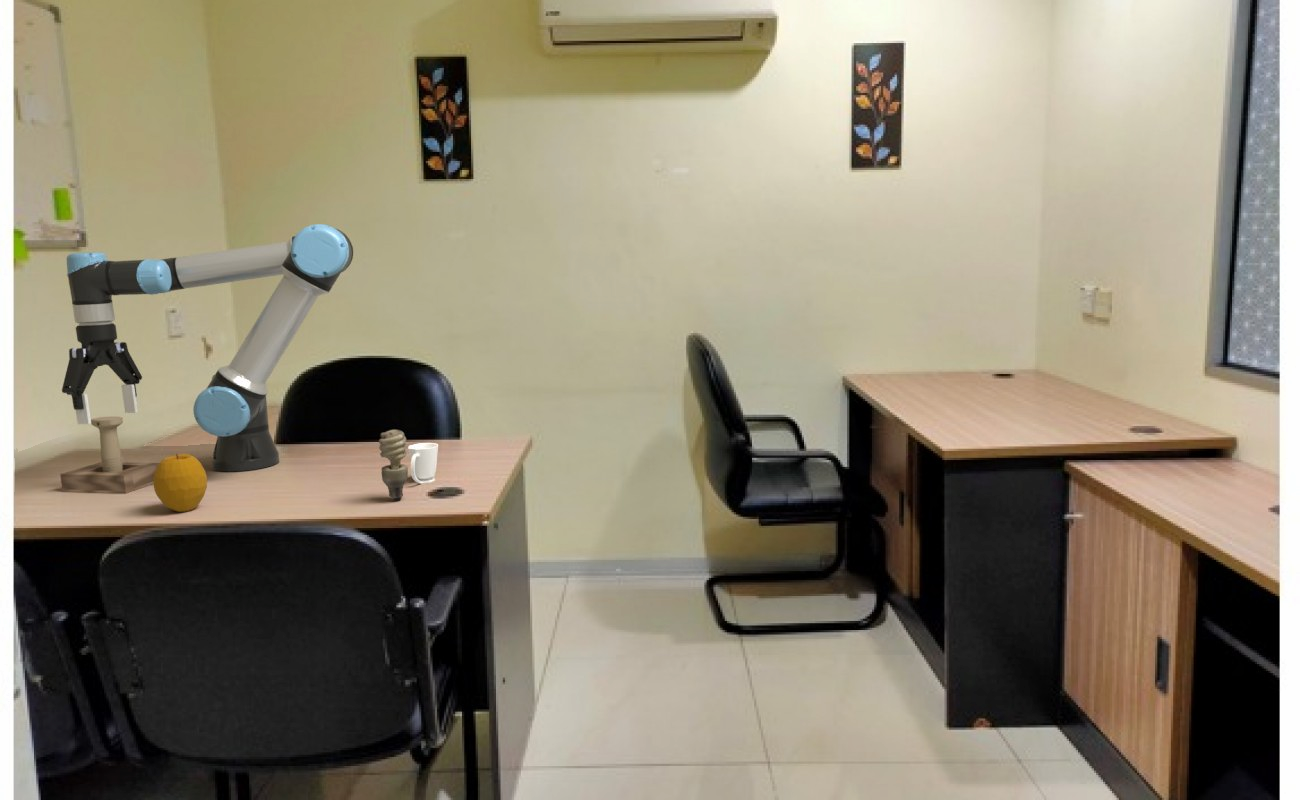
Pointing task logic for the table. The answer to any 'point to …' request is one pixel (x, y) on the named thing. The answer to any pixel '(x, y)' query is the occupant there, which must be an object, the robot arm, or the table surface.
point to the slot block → (109, 478)
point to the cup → (423, 461)
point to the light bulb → (394, 462)
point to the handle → (109, 443)
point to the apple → (180, 482)
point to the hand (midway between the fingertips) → (108, 418)
